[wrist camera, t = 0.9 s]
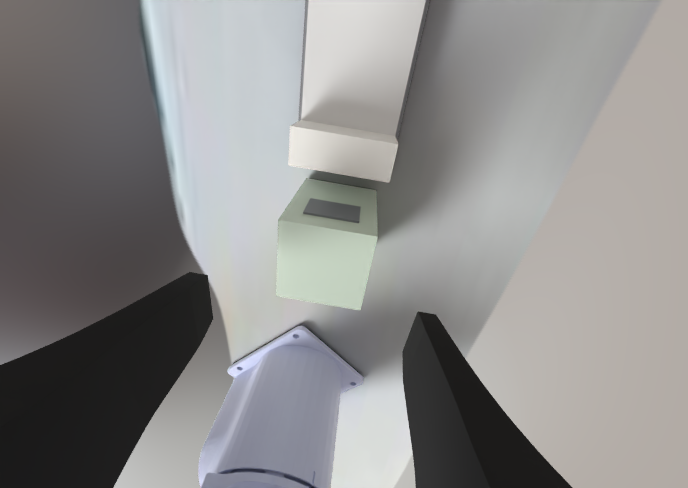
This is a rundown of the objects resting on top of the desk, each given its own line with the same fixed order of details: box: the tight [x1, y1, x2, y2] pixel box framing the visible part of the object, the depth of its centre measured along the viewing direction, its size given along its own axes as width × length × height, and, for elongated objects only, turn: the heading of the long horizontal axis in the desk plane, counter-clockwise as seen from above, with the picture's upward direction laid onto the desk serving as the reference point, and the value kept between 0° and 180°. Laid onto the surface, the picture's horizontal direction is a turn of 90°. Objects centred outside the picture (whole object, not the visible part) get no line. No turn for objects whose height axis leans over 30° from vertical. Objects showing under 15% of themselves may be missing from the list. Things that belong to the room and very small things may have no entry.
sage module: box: [276, 178, 378, 311], centre depth 15 cm, size 4×4×6 cm
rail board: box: [288, 0, 430, 183], centre depth 11 cm, size 9×5×3 cm, turn 172°
